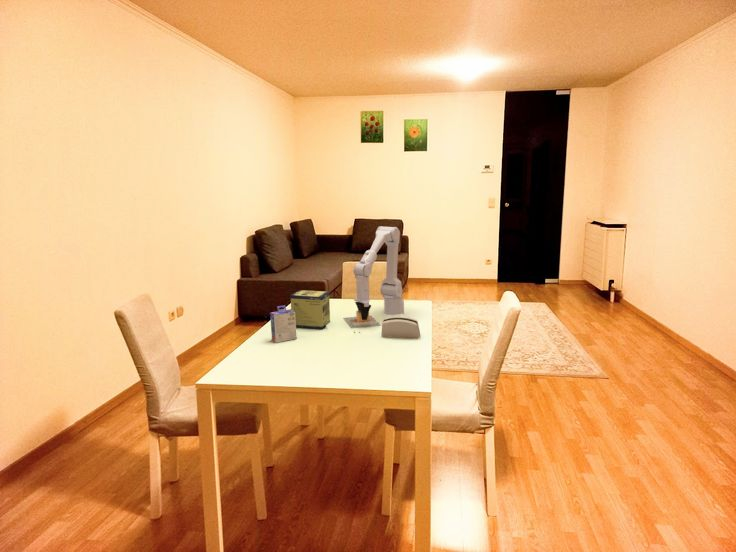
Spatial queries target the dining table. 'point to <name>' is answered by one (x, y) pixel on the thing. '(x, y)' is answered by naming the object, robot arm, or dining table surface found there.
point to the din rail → (358, 324)
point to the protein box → (311, 309)
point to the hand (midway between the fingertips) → (363, 318)
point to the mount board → (360, 326)
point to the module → (359, 318)
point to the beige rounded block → (400, 327)
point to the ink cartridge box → (283, 324)
